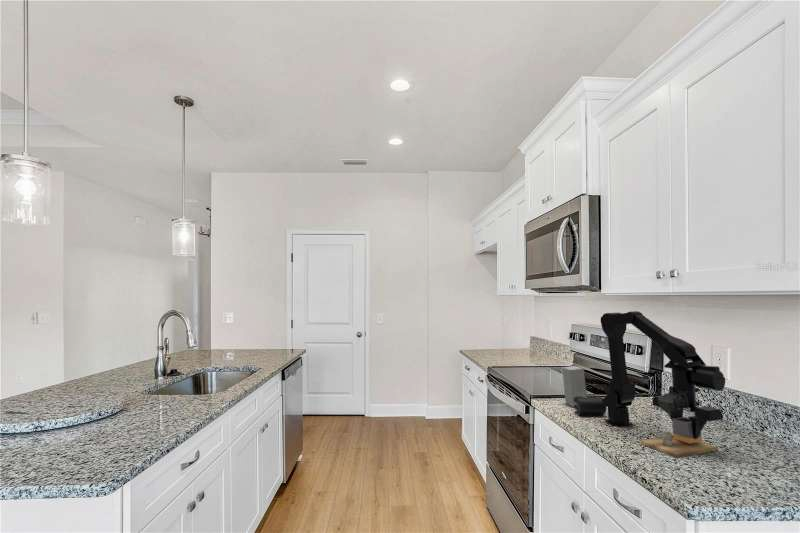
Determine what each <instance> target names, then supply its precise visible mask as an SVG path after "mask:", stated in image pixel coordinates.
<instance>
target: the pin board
mask: <svg viewBox="0 0 800 533" xmlns="http://www.w3.org/2000/svg"><path fill="white" fill-rule="evenodd" d="M639 442H640V444H641V445H642V446H645V445H646V447H648V448H650V447H651V449H653V450H655V451H658V452H661V453H663V454H665V453H666V454H665V455H667V454H668V456H670V457H672V456H673V458H675V459H677V458H678V459H679V458H682V457H683V458H684V457H688V456H694V455H695V454H696V455H700V453H702V454H707V453H711V452H710V451H713V452H717V451H716V450H718V451H719V448H718V446H715V445H713V444H710V443H706V442H704V441H702V442H697V443H691V444H688V443H685V442H683V441H680V440H677V439H674V437H673V434H672V433H671V432H668V431H663V432H661V436H658V437H652V438H646V439H640V440H639ZM706 452H707V453H706Z"/></svg>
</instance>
